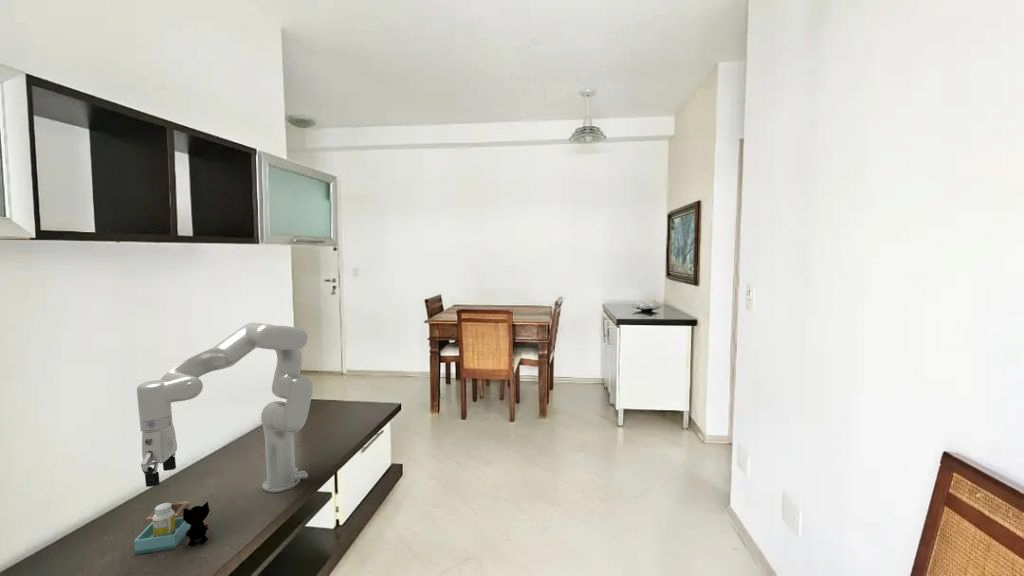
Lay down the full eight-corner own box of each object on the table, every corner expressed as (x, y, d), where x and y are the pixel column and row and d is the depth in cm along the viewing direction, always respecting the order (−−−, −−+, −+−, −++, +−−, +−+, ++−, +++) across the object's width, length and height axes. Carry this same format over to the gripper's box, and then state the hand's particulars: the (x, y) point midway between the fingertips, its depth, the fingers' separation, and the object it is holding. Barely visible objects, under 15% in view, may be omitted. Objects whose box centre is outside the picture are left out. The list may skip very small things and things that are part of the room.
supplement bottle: (160, 544, 133) (158, 512, 132) (149, 539, 135) (147, 508, 134) (179, 533, 138) (177, 503, 137) (169, 529, 140) (167, 499, 139)
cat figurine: (211, 532, 140) (209, 495, 139) (213, 544, 134) (210, 505, 134) (183, 541, 136) (180, 503, 135) (183, 553, 130) (181, 514, 129)
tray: (191, 528, 142) (190, 516, 142) (175, 548, 132) (174, 535, 132) (153, 533, 140) (152, 521, 140) (134, 554, 130) (133, 541, 130)
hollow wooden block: (189, 510, 152) (189, 501, 152) (177, 525, 144) (176, 515, 143) (160, 514, 150) (159, 504, 150) (146, 529, 142) (145, 519, 141)
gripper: (155, 432, 126) (161, 490, 128) (184, 411, 143) (189, 462, 144) (124, 435, 124) (130, 494, 126) (157, 413, 141) (162, 465, 143)
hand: (161, 477), depth 135 cm, fingers open, 9 cm apart
